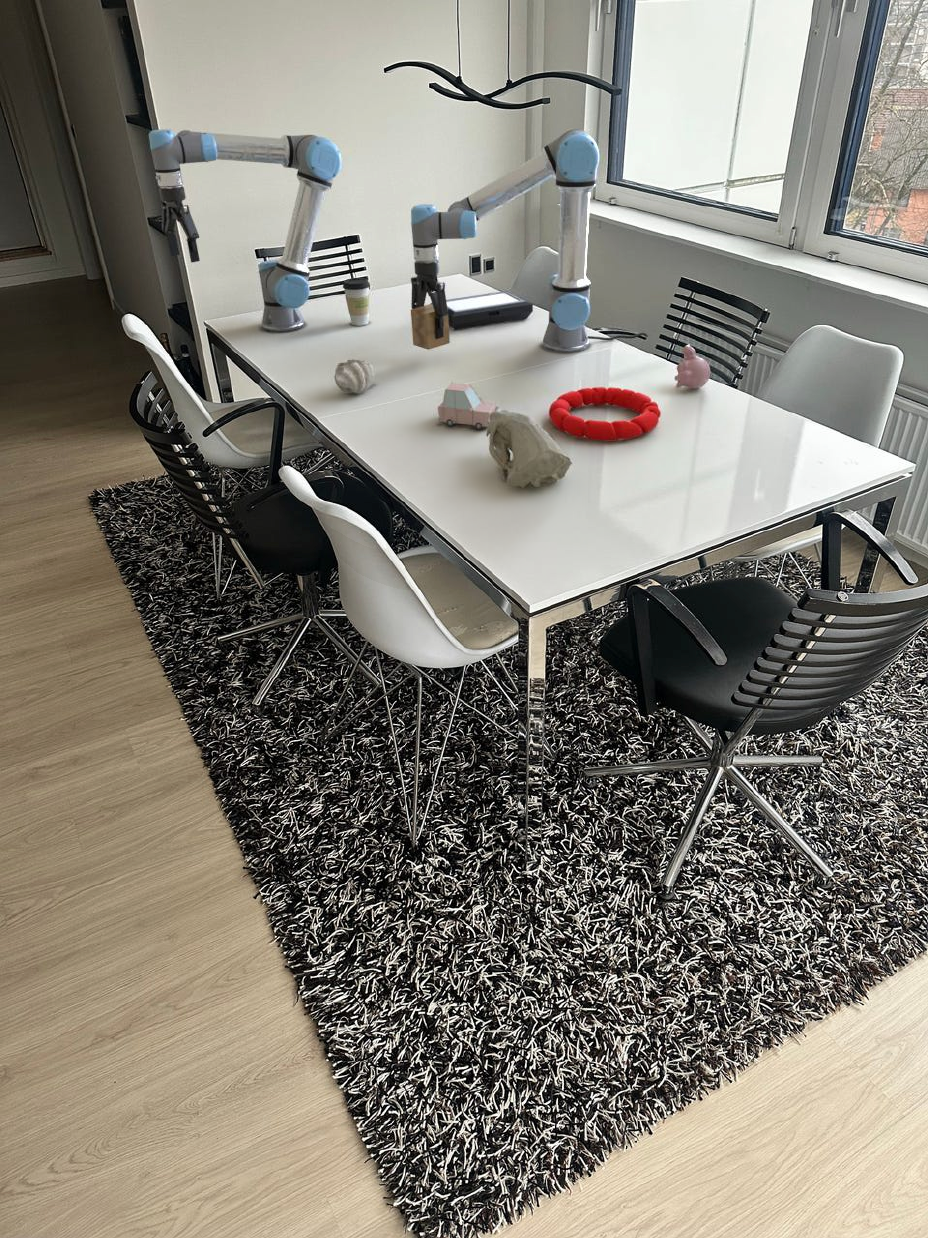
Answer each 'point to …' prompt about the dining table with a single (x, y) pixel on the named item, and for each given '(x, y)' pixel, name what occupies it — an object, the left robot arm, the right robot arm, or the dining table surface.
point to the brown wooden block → (427, 328)
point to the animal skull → (525, 450)
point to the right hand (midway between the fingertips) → (431, 334)
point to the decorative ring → (604, 428)
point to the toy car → (465, 406)
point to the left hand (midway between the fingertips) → (185, 258)
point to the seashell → (354, 376)
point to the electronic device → (487, 309)
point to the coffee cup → (357, 300)
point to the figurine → (692, 370)
